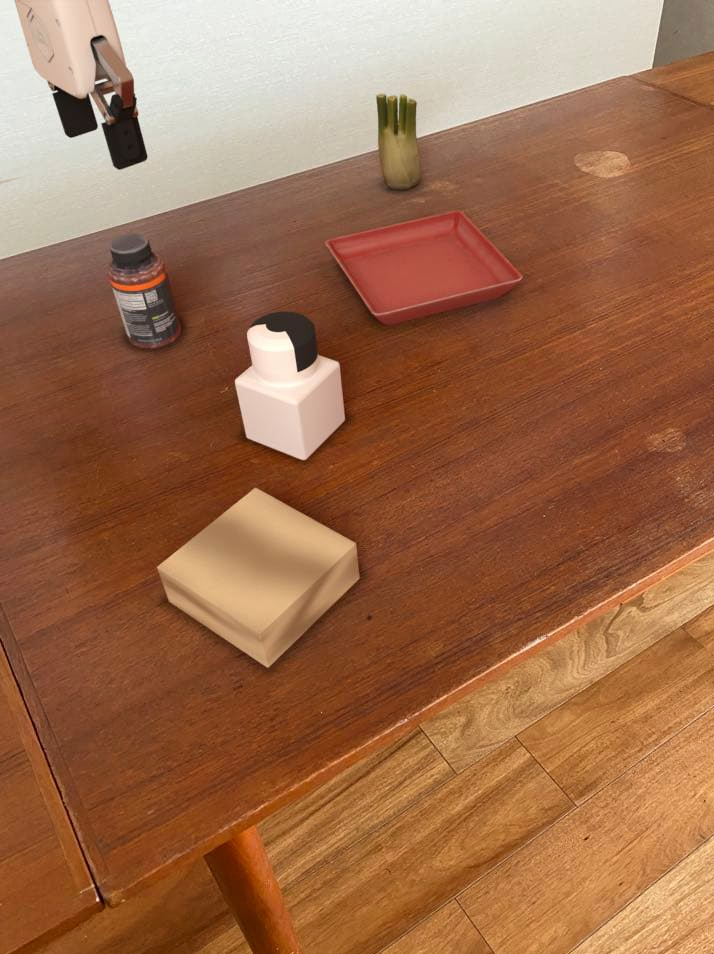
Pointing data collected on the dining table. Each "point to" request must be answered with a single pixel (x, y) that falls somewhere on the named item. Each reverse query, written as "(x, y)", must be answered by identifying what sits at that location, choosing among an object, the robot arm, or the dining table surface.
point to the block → (260, 575)
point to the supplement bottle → (143, 292)
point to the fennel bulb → (398, 142)
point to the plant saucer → (423, 267)
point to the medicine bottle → (289, 386)
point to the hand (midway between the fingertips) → (106, 148)
